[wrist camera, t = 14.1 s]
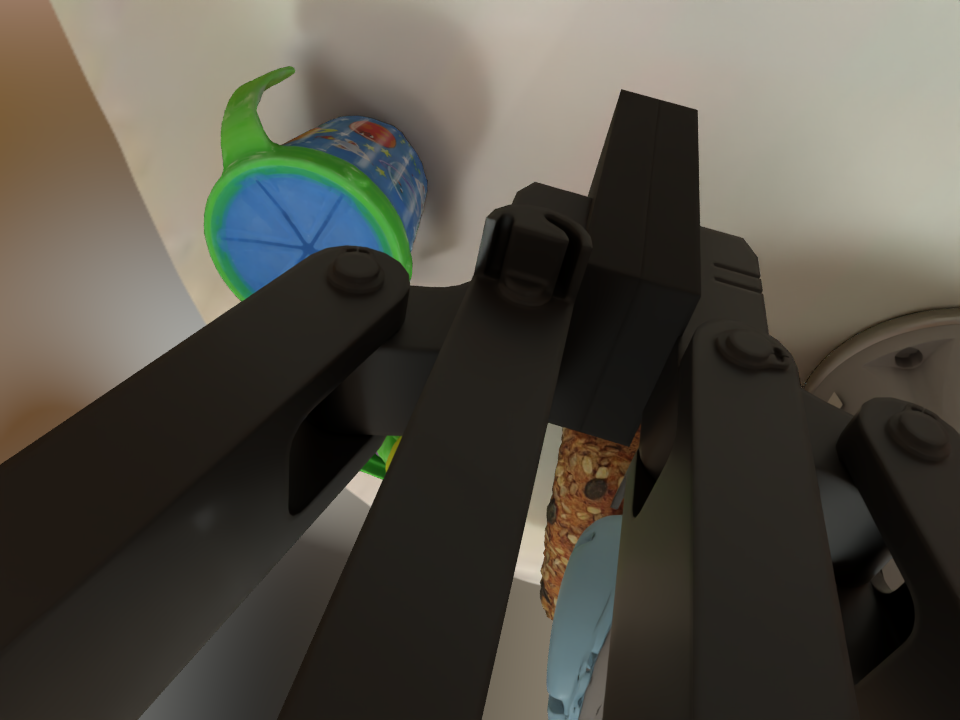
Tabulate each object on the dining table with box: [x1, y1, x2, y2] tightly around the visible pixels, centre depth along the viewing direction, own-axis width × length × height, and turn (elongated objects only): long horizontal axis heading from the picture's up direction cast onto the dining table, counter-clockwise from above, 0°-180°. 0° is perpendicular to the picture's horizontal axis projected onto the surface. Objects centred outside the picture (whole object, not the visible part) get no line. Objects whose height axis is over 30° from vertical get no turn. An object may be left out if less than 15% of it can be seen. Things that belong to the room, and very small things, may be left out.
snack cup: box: [204, 66, 427, 301], centre depth 40 cm, size 16×10×10 cm
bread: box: [540, 424, 641, 620], centre depth 50 cm, size 19×11×10 cm, turn 179°
